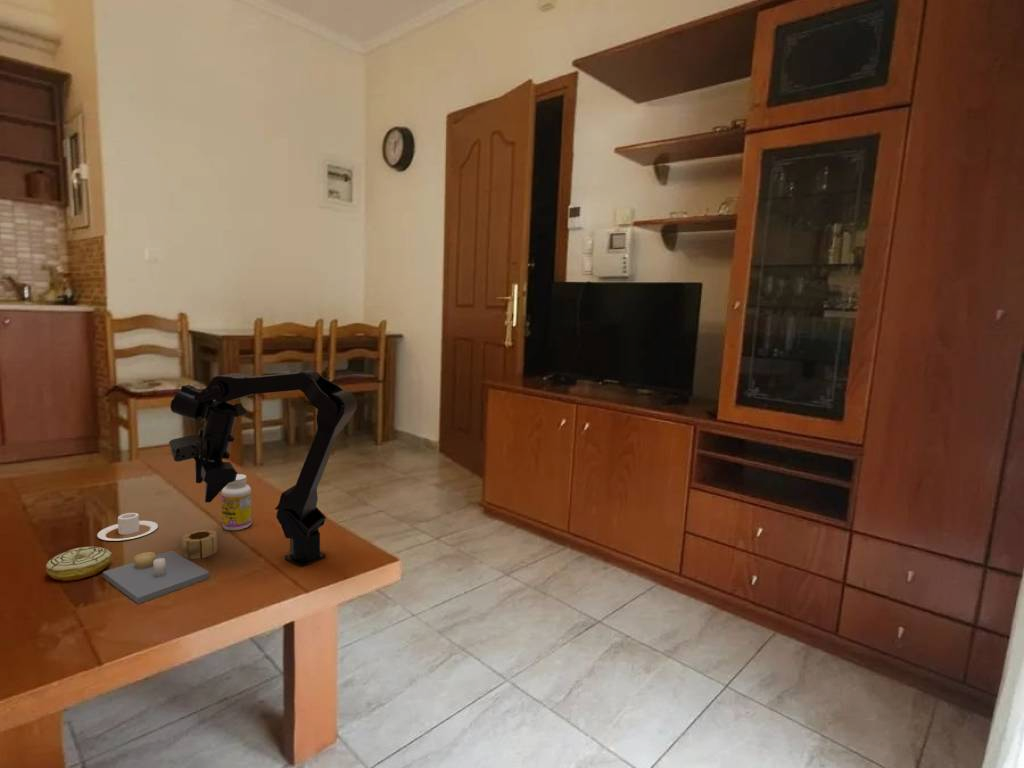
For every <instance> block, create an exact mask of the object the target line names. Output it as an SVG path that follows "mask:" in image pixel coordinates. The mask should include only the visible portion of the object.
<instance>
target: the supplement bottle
mask: <svg viewBox="0 0 1024 768" xmlns="http://www.w3.org/2000/svg"><path fill="white" fill-rule="evenodd" d="M247 477H248V476H247V475H246V474H244V473H243V474H242V473H241V474H239V473H237V476H236V480H235V481H234V482H230V483H228V484H227V485H226V486H225V487H224V488H223V489H222V490H221V519H222V520H221V524H222V528H223V529H224V530H226V531H242V530H244V528H245V529H247V528H248V527H250V526H251V525H252V522H253V521H252V519H253V518H252V514H253V512H252V488H251V486H250V485H249V484H247V480H248V479H247Z"/></svg>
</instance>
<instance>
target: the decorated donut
mask: <svg viewBox="0 0 1024 768" xmlns="http://www.w3.org/2000/svg"><path fill="white" fill-rule="evenodd" d="M112 553H113V552H111V551H110V550H108V549H107V548H105V547H101V546H81V547H75V548H72V549H69V550H67V551H64V552H62V553H58V554H57V555H55V556H54V557H52V558H51V559H50V560H48V561H47V563H46V565H45V566H46V567H45V568H46V573H47V574H48V576H49V577H51V578H52V579H54V580H56V581H61V580H62V582H67V581H76V580H82V579H86V578H89V577H92V576H95V575H97V574H99V573H101V572H102V571H103V570H104V569H106V568H107V567H108V566H109V564H110V562H111V558H112Z"/></svg>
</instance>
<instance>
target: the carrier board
mask: <svg viewBox="0 0 1024 768" xmlns="http://www.w3.org/2000/svg"><path fill="white" fill-rule="evenodd" d="M133 560H134V562H130V563H127V564H124V565H120V566H117V567H114V568H111V569H108V570H105V571H103V572H102V578H103V579H105V581H107V582H108V583H110V584H111V585H113V586H114V587H115V588H116V589H118V591H120V592H121V593H123V595H126V596H127V597H128V598H129V599H131V600H132V601H133V602H135V603H136V604H138V605H140V604H142V603H145V602H147V601H150V600H154V599H156V598H159V597H161V596H164V595H167V594H169V593H172V592H175V591H177V590H180V589H183V588H185V587H188V586H191V585H194V584H196V583H199V582H202V581H205V580H208V579H210V577H211V576H210V575H211V574H210V572H209V571H208V570H206V568H202V567H201V566H200V565H198V564H196V563H194V562H193V561H191V560H190V559H187V558H185V557H184V556H183V555H180V554H179V553H177V552H176V551H174V550H168V551H165V552H162V553H158V554H156V553H155V552H154V551H147V552H146V551H145V552H142V553H138V554H136V555H134V559H133Z"/></svg>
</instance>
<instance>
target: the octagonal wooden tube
mask: <svg viewBox="0 0 1024 768" xmlns="http://www.w3.org/2000/svg"><path fill="white" fill-rule="evenodd" d="M181 546H182V547H181V548H182V550H181V551H182V556H183V557H184V558H186V559H188V560H199V559H204V558H208V557H211V556H213V555H214V554H215V553H216V552H217V551H218V535H217V532H216V531H215V530H213V529H199V530H192V531H190V532H187V533H185V534H184V535H183V536H182V537H181Z"/></svg>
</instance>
